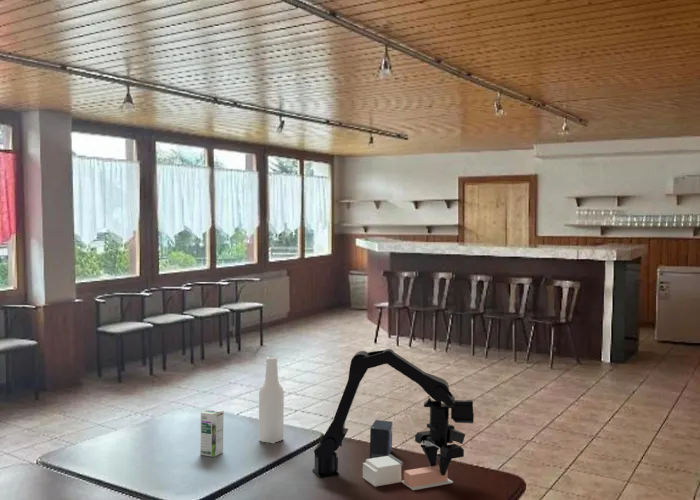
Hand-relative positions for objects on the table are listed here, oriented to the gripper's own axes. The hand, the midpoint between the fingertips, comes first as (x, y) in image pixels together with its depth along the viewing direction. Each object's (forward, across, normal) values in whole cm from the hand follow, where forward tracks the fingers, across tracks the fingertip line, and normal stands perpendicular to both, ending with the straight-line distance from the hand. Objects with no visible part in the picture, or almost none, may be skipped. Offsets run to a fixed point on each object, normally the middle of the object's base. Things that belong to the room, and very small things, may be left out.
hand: (438, 472), depth 201 cm
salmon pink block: (+2, 0, +4) cm, 5 cm away
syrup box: (+3, +51, +57) cm, 77 cm away
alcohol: (+3, +57, +34) cm, 67 cm away
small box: (+3, +28, +5) cm, 28 cm away
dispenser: (+2, +8, +15) cm, 17 cm away
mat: (+2, 0, +4) cm, 5 cm away
